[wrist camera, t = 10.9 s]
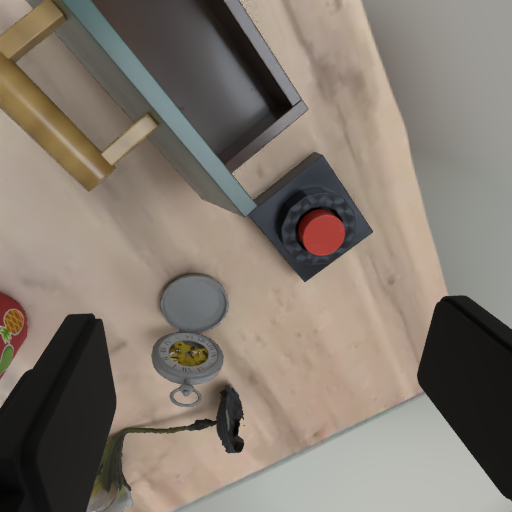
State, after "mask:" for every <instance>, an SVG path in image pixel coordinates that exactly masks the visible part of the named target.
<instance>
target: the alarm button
mask: <svg viewBox="0 0 512 512" xmlns="http://www.w3.org/2000/svg"><path fill="white" fill-rule="evenodd" d="M298 236H299V239H300V240H301V242H302V243H303V245H304V246H305V248H306V249H307V250H308V251H309V252H310V253H312V254H314V255H319V256H324V255H328V254H331V253H333V252H334V251H336V250H337V249H338V248H339V247H340V246H341V244H342V243H343V240H344V237H345V228H344V225H343V223H342V222H341V221H340V220H339V219H338V218H337V217H336V216H335V215H334V214H333V213H331V212H330V211H328V210H325V209H316V210H313V211H311V212H309V213H307V214H306V215H305V216H304V217H303V218H302V220H301V221H300V223H299V226H298Z"/></svg>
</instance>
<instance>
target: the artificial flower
mask: <svg viewBox="0 0 512 512" xmlns="http://www.w3.org/2000/svg"><path fill="white" fill-rule="evenodd" d="M220 394H221V397H220V399H221V401H220V405H219V409H218V413H217V417H216V419H217V421H212V420H209V419H206V418H205V419H204V420H196V421H195V423H194V424H191V425H190V426H183V427H174V428H169V429H154V428H129V429H125V430H124V431H123V432H121V433H120V434H119V435H118V436H117V437H116V438H114V439H113V440H112V441H111V442H109V443H108V444H107V445H106V446H105V449H104V452H103V456H102V459H101V462H100V466H99V469H98V473H97V476H96V480H95V483H94V487H93V490H92V493H91V497H90V500H89V504H88V507H87V511H86V512H92V511H96V512H123V511H124V510H125V509H126V508H128V507H130V506H132V505H133V501H132V497H131V493H130V491H131V487H130V486H129V485H128V484H127V482H126V480H125V478H124V475H123V472H122V459H121V457H122V455H123V454H122V447H123V440H124V436H125V435H126V433H135V432H137V433H142V432H143V433H147V432H148V433H151V432H152V433H160V434H161V433H165V432H166V433H167V434H168V433H175V432H178V431H184V430H190V431H193V430H201V429H204V428H207V427H209V426H211V427H212V426H213V425H216V424H217V433H218V436H219V437H220V440H222V445H223V446H224V447H225V448H226V452H227V453H239V452H241V451H242V449H243V446H244V442H243V441H244V440H243V439H242V438H240V437H239V436H238V431H239V430H238V428H239V426H240V422H239V421H240V420H241V418H243V420H244V417H243V415H244V414H243V410H242V406H241V401H240V399H239V395H238V394H237V392H235V390H234V389H233V388H231V386H229V385H227V386H226V387H225V390H223V391H221V392H220ZM244 426H245V425H244Z"/></svg>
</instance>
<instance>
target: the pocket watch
mask: <svg viewBox="0 0 512 512" xmlns="http://www.w3.org/2000/svg"><path fill="white" fill-rule="evenodd" d="M161 311H162V314H163V316H164V318H165V320H166V321H167V322H168V323H169V324H170V325H171V326H172V327H174V328H176V329H178V330H180V331H179V332H176V333H171V334H168V335H166V336H163V337H162V338H160V339H159V340H158V341H157V342H156V343H155V345H154V346H153V350H152V362H153V365H154V368H155V369H156V371H157V372H158V373H159V374H160V375H161V376H163V377H164V378H166V379H168V380H169V381H171V382H175V383H178V384H183V385H181V386H180V387H179V388H177V389H175V390H173V391H172V392H171V394H170V399H171V401H172V402H173V403H174V404H176V405H178V406H181V407H192V406H195V405H197V404H198V403H200V401H201V399H202V396H201V394H200V393H199V391H197V390H195V389H194V387H193V386H192V385H197V384H202V383H205V382H207V381H209V380H211V379H213V378H214V377H215V376H216V375H217V374H218V372H219V371H220V369H221V367H222V364H223V358H224V356H223V353H222V350H221V349H220V347H219V346H218V344H216V343H215V342H214V341H212V340H211V339H210V338H208V337H206V336H204V335H200V333H202V332H206V331H209V330H211V329H213V328H215V327H216V326H217V325H219V324H220V323H221V322H222V320H223V319H224V318H225V316H226V314H227V311H228V296H227V293H226V292H225V290H224V288H223V286H222V285H221V284H220V283H219V282H218V281H216V280H214V279H213V278H211V277H208V276H205V275H200V274H191V275H185V276H182V277H180V278H178V279H176V280H174V281H173V282H172V283H171V284H169V285H168V287H167V288H166V289H165V291H164V293H163V296H162V298H161ZM177 349H178V351H176V350H177ZM179 350H182V351H181V352H180V351H179ZM192 351H198V353H199V352H200V354H198V353H197V354H195V355H194V353H193V352H192ZM171 352H175V354H177V353H178V355H175V354H173V355H174V356H173V355H172V356H169V354H170V353H171ZM192 353H193V356H192ZM199 355H200V356H199ZM203 356H204V357H205V358H204V357H203ZM171 358H172V359H173V358H174V359H176V358H177V359H176V360H174V359H173V360H172V359H171ZM180 360H181V361H180ZM175 361H178V362H175ZM179 390H180V391H181V392H182V393H183V395H184V396H188V395H189V394H190V393H191V392H195V393H196V394H197V395H198V400H197V401H196V402H194V403H192V404H181V403H178V402H177V401H176V400H175V399H174V398H173V395H174V394H175V392H177V391H179Z"/></svg>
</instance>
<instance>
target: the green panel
mask: <svg viewBox="0 0 512 512" xmlns="http://www.w3.org/2000/svg"><path fill="white" fill-rule="evenodd" d="M26 1H27V2H28V3H29V4H30V6H31V7H32V8H33V10H32V11H30V12H29V13H28V14H26V15H25V16H24V17H23V18H21V19H20V20H19V21H18V22H16V23H15V24H14V25H13V26H11V27H10V28H9V29H8V30H6V31H5V32H4V33H3V34H1V35H0V108H1V109H2V110H3V111H4V112H5V113H6V114H7V115H8V116H9V117H10V118H11V119H12V120H14V121H15V122H16V123H17V124H18V125H19V126H20V127H21V128H22V129H23V130H24V131H25V132H26V133H27V134H28V135H29V136H30V137H31V138H32V139H33V140H34V141H36V142H37V143H38V144H39V145H40V146H41V147H42V148H43V149H44V150H45V151H46V152H47V153H48V154H49V155H50V156H51V157H52V158H53V159H54V160H55V161H56V162H57V163H59V164H60V165H61V166H62V167H63V168H64V169H65V170H66V171H67V172H68V173H69V174H70V175H71V176H72V177H73V178H74V179H75V180H76V181H77V182H78V183H79V184H81V185H82V186H83V187H84V188H85V189H86V190H87V191H88V192H89V191H91V190H92V189H93V188H95V187H96V186H97V185H98V184H99V183H100V182H102V181H103V180H104V179H105V178H106V177H107V176H108V175H109V174H111V173H112V172H113V171H114V170H115V169H116V166H115V164H116V163H117V162H119V161H120V160H121V159H122V158H123V157H124V156H125V155H127V154H128V153H129V152H130V151H131V150H132V149H133V148H135V147H136V146H137V145H138V144H139V143H140V142H141V141H142V140H144V139H145V138H146V137H147V138H148V139H149V140H150V141H151V142H152V143H153V144H154V146H155V147H156V148H157V149H158V150H159V151H160V152H161V153H162V155H163V156H164V157H165V158H166V159H167V160H168V161H169V162H170V164H171V165H172V166H173V167H174V168H175V169H176V170H177V172H178V173H179V174H180V175H181V176H182V177H183V178H184V179H185V181H186V182H187V183H188V184H189V185H190V186H191V187H192V188H193V190H194V191H195V192H196V193H197V194H198V195H199V196H200V197H201V199H203V200H205V201H208V202H210V203H212V204H215V205H217V206H219V207H222V208H224V209H226V210H229V211H231V212H233V213H236V214H238V215H240V216H243V217H246V216H247V215H248V214H250V213H251V212H252V211H253V210H254V209H255V208H256V207H257V205H256V203H255V202H254V201H253V200H252V198H251V197H250V196H249V195H248V193H247V192H246V191H245V190H244V189H243V187H242V186H241V185H240V184H239V182H238V181H237V180H236V179H235V177H234V176H233V175H232V174H231V172H230V171H229V170H228V169H227V168H226V166H225V165H224V164H223V163H222V161H221V160H220V159H219V158H218V156H217V155H216V154H215V153H214V151H213V150H212V149H211V148H210V147H209V145H208V144H207V143H206V142H205V140H204V139H203V138H202V137H201V135H200V134H199V133H198V132H197V130H196V129H195V128H194V127H193V126H192V124H191V123H190V122H189V121H188V119H187V118H186V117H185V116H184V114H183V113H182V112H181V111H180V109H179V108H178V107H177V106H176V105H175V103H174V102H173V101H172V100H171V98H170V97H169V96H168V95H167V93H166V92H165V91H164V90H163V88H162V87H161V86H160V85H159V84H158V82H157V81H156V80H155V79H154V77H153V76H152V75H151V74H150V72H149V71H148V70H147V69H146V67H145V66H144V65H143V64H142V63H141V61H140V60H139V59H138V58H137V56H136V55H135V54H134V53H133V51H132V50H131V49H130V48H129V46H128V45H127V44H126V43H125V42H124V40H123V39H122V38H121V37H120V35H119V34H118V33H117V32H116V30H115V29H114V28H113V27H112V25H111V24H110V23H109V22H108V21H107V19H106V18H105V17H104V16H103V14H102V13H101V12H100V11H99V9H98V8H97V7H96V6H95V4H94V3H93V2H92V1H91V0H26ZM52 32H54V33H55V34H56V35H57V36H58V37H59V38H60V39H61V41H62V42H63V43H64V44H65V45H66V46H67V47H68V48H69V50H70V51H71V52H72V53H73V54H74V55H75V56H76V57H77V59H78V60H79V61H80V62H81V63H82V64H83V65H84V67H85V68H86V69H87V70H88V71H89V72H90V73H91V74H92V76H93V77H94V78H95V79H96V80H97V81H98V82H99V83H100V85H101V86H102V87H103V88H104V89H105V90H106V91H107V92H108V94H109V95H110V96H111V97H112V98H113V99H114V100H115V102H116V103H117V104H118V105H119V106H120V107H121V108H122V109H123V111H124V112H125V113H126V114H127V115H128V116H129V117H130V118H131V120H132V121H133V122H134V124H133V125H132V126H131V127H129V128H128V129H127V130H126V131H125V132H124V133H123V134H121V135H120V136H119V137H118V138H117V139H116V140H114V141H113V142H112V143H111V144H110V145H109V146H108V147H106V148H105V149H104V150H103V151H102V152H101V151H100V150H99V149H98V148H97V147H96V146H95V145H94V144H93V143H92V142H91V141H90V140H89V139H88V138H87V137H86V135H85V134H84V133H83V132H82V131H81V130H80V129H79V128H78V127H77V126H76V125H75V124H74V123H73V122H72V121H71V120H70V119H69V118H68V117H67V116H66V115H65V114H64V113H63V112H62V111H61V110H60V109H59V108H58V107H57V106H56V105H55V103H54V102H53V101H52V100H51V99H50V98H49V97H48V96H47V95H46V94H45V93H44V92H43V91H42V90H41V89H40V88H39V87H38V86H37V85H36V84H35V83H34V82H33V81H32V80H31V79H30V78H29V77H28V76H27V75H26V74H25V73H24V72H23V70H22V69H21V68H20V67H19V66H18V65H17V64H16V63H15V62H17V61H18V60H19V59H20V58H21V57H23V56H24V55H25V54H26V53H28V52H29V51H30V50H31V49H33V48H34V47H35V46H36V45H37V44H39V43H40V42H41V41H42V40H44V39H45V38H46V37H47V36H49V35H50V34H51V33H52Z"/></svg>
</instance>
